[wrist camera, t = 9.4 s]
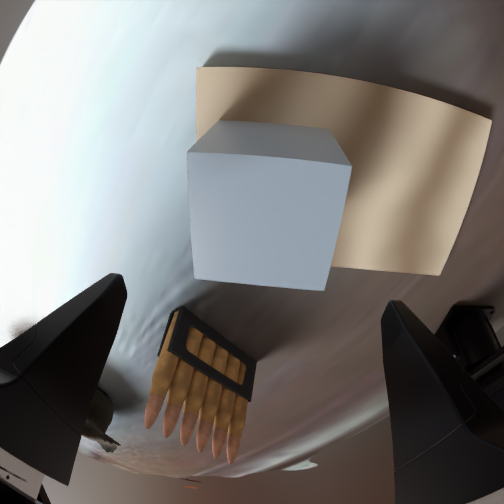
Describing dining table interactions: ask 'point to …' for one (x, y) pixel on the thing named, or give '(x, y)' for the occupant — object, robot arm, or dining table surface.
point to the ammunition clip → (201, 384)
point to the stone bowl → (100, 422)
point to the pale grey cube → (266, 203)
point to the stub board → (369, 156)
